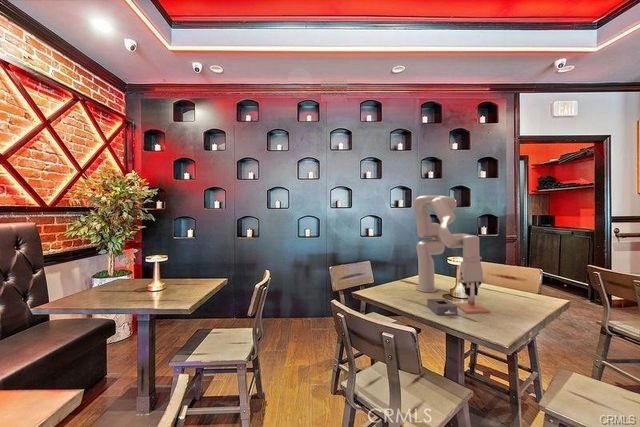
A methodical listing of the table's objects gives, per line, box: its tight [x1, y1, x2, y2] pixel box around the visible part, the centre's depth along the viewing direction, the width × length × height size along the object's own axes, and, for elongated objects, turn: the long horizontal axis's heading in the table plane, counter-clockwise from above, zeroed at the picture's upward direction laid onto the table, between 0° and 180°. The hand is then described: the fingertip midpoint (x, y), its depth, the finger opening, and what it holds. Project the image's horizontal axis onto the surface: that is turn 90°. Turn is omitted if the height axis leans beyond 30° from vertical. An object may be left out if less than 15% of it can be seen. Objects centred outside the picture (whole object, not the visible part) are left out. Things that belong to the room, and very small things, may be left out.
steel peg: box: [467, 282, 476, 306], centre depth 147 cm, size 3×3×12 cm
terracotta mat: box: [453, 302, 491, 314], centre depth 147 cm, size 12×12×1 cm
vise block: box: [426, 298, 458, 316], centre depth 144 cm, size 16×10×4 cm, turn 1°
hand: (471, 294), depth 147 cm, fingers closed on steel peg, 3 cm apart
